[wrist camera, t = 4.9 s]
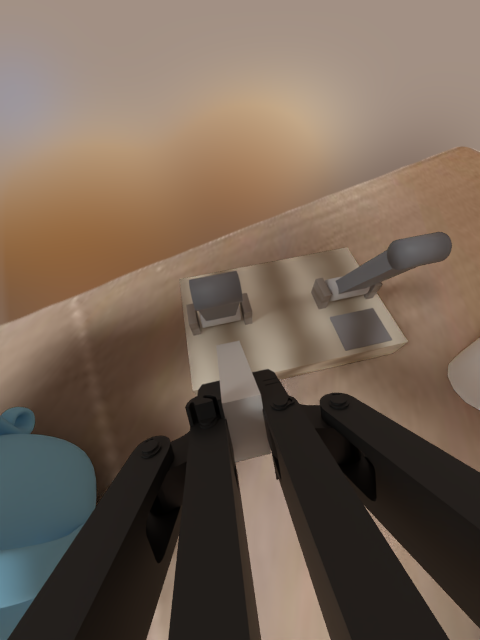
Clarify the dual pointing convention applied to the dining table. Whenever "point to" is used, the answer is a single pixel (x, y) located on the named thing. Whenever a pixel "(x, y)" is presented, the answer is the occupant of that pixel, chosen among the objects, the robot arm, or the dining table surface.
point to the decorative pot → (36, 509)
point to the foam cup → (467, 374)
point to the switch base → (293, 320)
